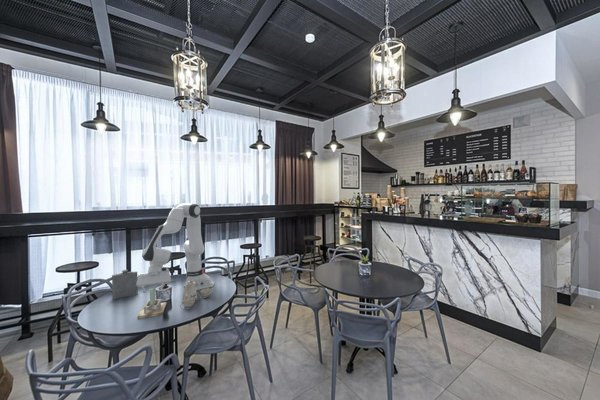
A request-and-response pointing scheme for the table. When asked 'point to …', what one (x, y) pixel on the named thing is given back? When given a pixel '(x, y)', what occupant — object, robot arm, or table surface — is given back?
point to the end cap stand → (152, 309)
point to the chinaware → (192, 294)
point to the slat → (152, 296)
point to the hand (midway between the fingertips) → (152, 291)
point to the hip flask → (124, 284)
